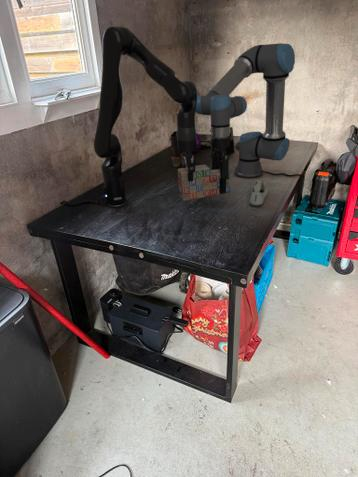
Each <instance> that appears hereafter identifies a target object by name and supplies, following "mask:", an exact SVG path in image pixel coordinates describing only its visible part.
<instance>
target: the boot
mask: <svg viewBox="0 0 358 477" xmlns="http://www.w3.org/2000/svg"><path fill="white" fill-rule="evenodd" d="M169 141H170V151H169V154H170V156H169V158H170V160H171V164H172V166H173V168H178V167H180V165H182V164H181V155H180V151H179V150H178V144H177V130H175V131H173V132H172V133H171V134H170V138H169Z"/></svg>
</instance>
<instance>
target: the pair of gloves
mask: <svg viewBox="0 0 358 477" xmlns="http://www.w3.org/2000/svg"><path fill="white" fill-rule="evenodd" d="M211 138H212V136H211V135H210V134H206V135H205V139H204V140H203V139H201V145H200V148H199V149H202V148H206V147H209V148H211V149H212V147H211Z"/></svg>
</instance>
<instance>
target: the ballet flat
mask: <svg viewBox="0 0 358 477" xmlns="http://www.w3.org/2000/svg"><path fill="white" fill-rule="evenodd" d="M268 194H269V189H268V186H267V183H266V182H265V181H264V180H262V179H257V180H255V181H254V182H253V184H252V187H251V190H250V196H249V204H250V205H251V206H252V207H260V206H261V205H263V203H264V201H265V198H266V196H267V195H268Z"/></svg>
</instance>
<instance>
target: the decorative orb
mask: <svg viewBox="0 0 358 477" xmlns="http://www.w3.org/2000/svg"><path fill="white" fill-rule="evenodd" d="M201 140H202V139H201V137H200V135H199V134H198V133H197V132H196V145H197V149H196V150H195V151H193V152H192V154H194V153H196V152H197V151H198V150H199V149H201V148H200V145H201Z"/></svg>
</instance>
